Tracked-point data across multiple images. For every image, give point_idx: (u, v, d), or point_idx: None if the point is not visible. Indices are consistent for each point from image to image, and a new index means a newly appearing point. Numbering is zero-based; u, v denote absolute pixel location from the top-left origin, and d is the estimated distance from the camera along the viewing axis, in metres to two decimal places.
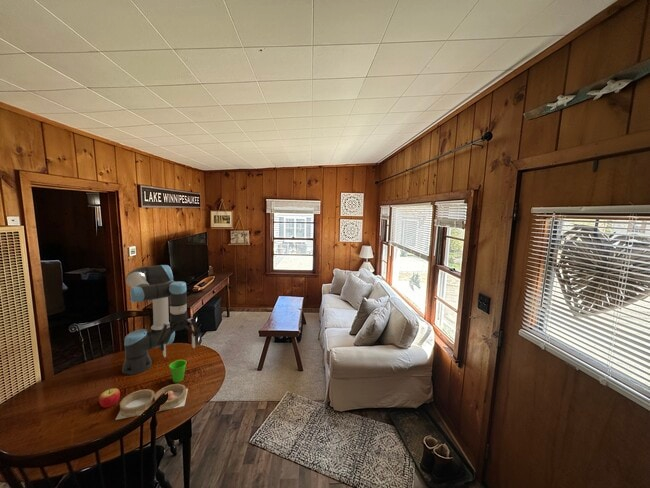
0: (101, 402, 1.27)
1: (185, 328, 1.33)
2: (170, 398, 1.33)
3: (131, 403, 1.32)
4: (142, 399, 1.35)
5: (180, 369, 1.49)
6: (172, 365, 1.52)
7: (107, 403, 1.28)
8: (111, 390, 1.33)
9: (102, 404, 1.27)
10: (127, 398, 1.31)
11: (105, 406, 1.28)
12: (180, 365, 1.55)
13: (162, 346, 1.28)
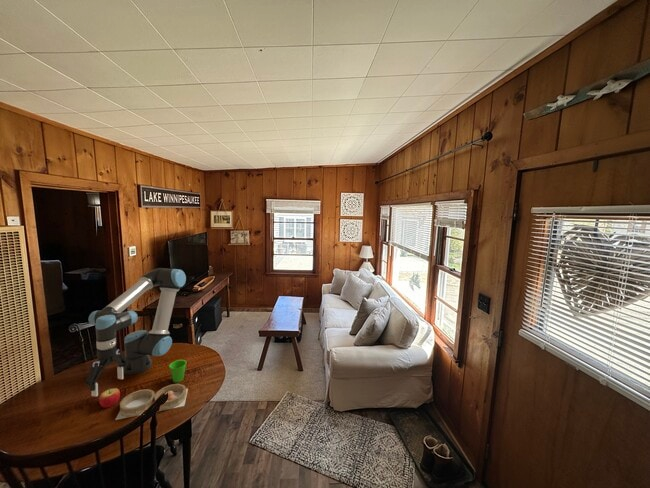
0: (101, 402, 1.27)
1: (115, 361, 1.32)
2: (170, 398, 1.33)
3: (131, 403, 1.32)
4: (142, 399, 1.35)
5: (180, 369, 1.49)
6: (172, 365, 1.52)
7: (107, 403, 1.28)
8: (111, 390, 1.33)
9: (102, 404, 1.27)
10: (127, 398, 1.31)
11: (105, 406, 1.28)
12: (180, 365, 1.55)
13: (93, 386, 1.22)
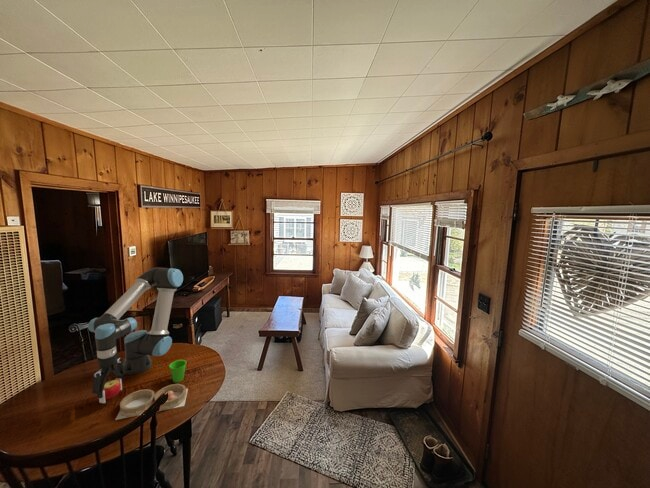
0: None
1: (115, 369, 1.32)
2: (170, 398, 1.33)
3: (131, 403, 1.32)
4: (142, 399, 1.35)
5: (180, 369, 1.49)
6: (172, 365, 1.52)
7: (108, 394, 1.28)
8: (112, 381, 1.33)
9: None
10: (127, 398, 1.31)
11: (106, 397, 1.28)
12: (180, 365, 1.55)
13: (101, 393, 1.26)
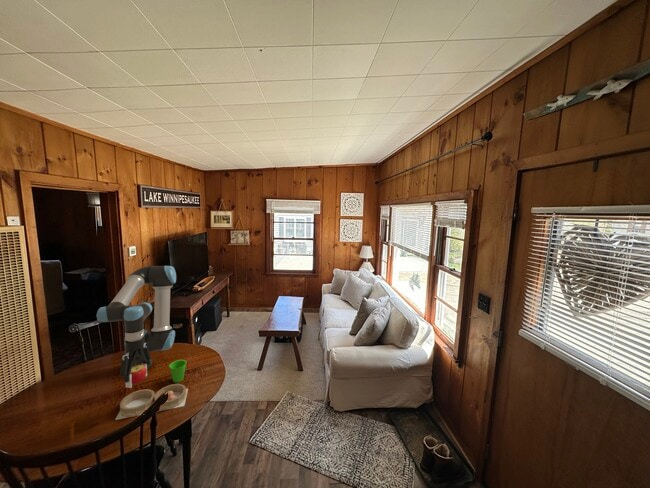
0: None
1: (141, 354, 1.29)
2: (170, 398, 1.33)
3: (131, 403, 1.32)
4: (142, 399, 1.35)
5: (180, 369, 1.49)
6: (172, 365, 1.52)
7: (135, 378, 1.25)
8: (137, 366, 1.30)
9: None
10: (127, 398, 1.31)
11: (132, 381, 1.25)
12: (180, 365, 1.55)
13: (128, 377, 1.23)
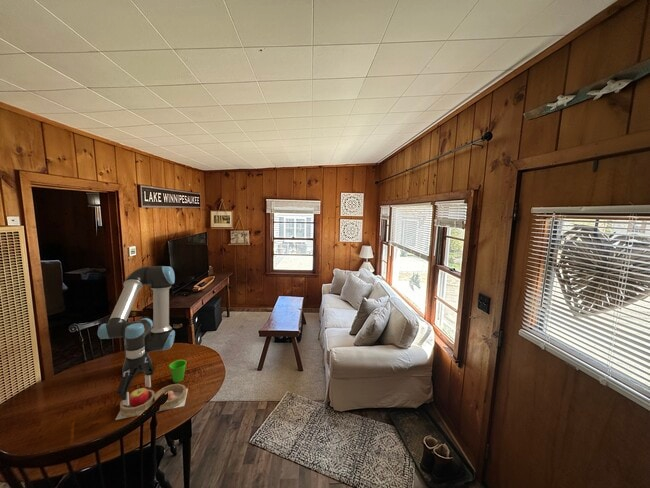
0: (131, 402, 1.26)
1: (143, 369, 1.31)
2: (170, 398, 1.33)
3: None
4: None
5: (180, 369, 1.49)
6: (172, 365, 1.52)
7: (137, 402, 1.27)
8: (139, 390, 1.32)
9: (132, 404, 1.27)
10: None
11: (134, 405, 1.27)
12: (180, 365, 1.55)
13: (125, 395, 1.22)
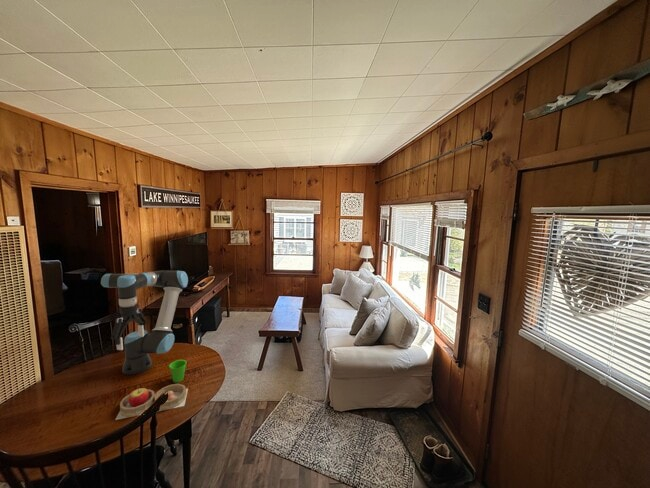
0: (131, 402, 1.26)
1: (136, 318, 1.38)
2: (170, 398, 1.33)
3: None
4: None
5: (180, 369, 1.49)
6: (172, 365, 1.52)
7: (137, 402, 1.27)
8: (140, 390, 1.32)
9: (132, 404, 1.27)
10: (127, 398, 1.31)
11: (134, 406, 1.27)
12: (180, 365, 1.55)
13: (119, 340, 1.29)
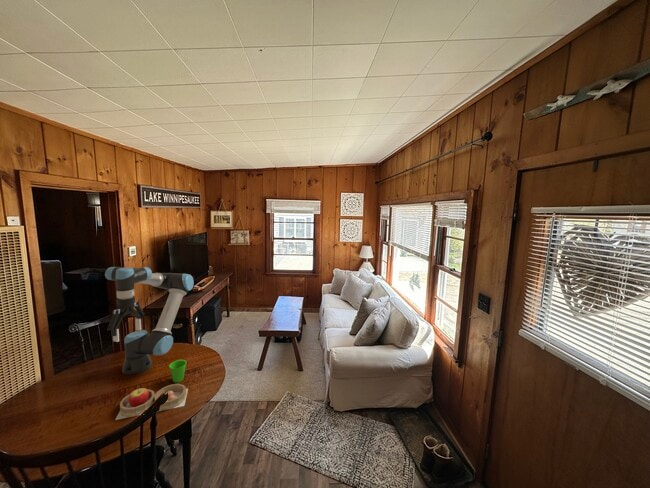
0: (131, 402, 1.26)
1: (133, 311, 1.40)
2: (170, 398, 1.33)
3: None
4: None
5: (180, 369, 1.49)
6: (172, 365, 1.52)
7: (137, 402, 1.27)
8: (140, 390, 1.32)
9: (132, 404, 1.27)
10: (127, 398, 1.31)
11: (134, 406, 1.27)
12: (180, 365, 1.55)
13: (115, 331, 1.30)
